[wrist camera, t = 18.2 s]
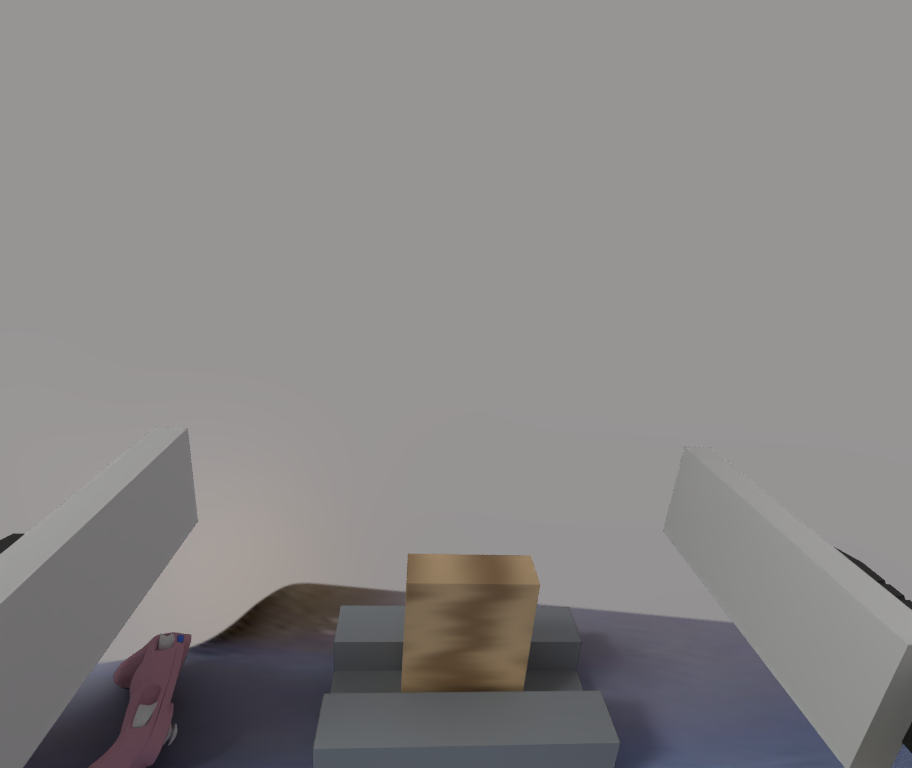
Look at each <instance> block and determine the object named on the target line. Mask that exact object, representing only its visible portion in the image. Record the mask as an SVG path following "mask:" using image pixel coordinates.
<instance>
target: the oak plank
mask: <svg viewBox="0 0 912 768" xmlns="http://www.w3.org/2000/svg"><path fill="white" fill-rule="evenodd" d="M407 565H408V566H407V583H406V602H405V621H404V640H403V659H402V679H401V693H423V692H519V691H523V688H524V682H525V676H526V670H527V663H528V657H529V651H530V644H531V638H532V632H533V626H534V619H535V613H536V607H537V601H538V594H539V588H540V583H539V580H538V577H537V574H536V571H535V568H534V564H533V562H532V558H531V556H520V555H518V556H517V555H516V556H515V555H454V554H453V555H452V554H408V564H407Z"/></svg>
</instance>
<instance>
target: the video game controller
mask: <svg viewBox="0 0 912 768" xmlns="http://www.w3.org/2000/svg"><path fill="white" fill-rule="evenodd" d="M190 642H191V635H190V634H181V633H175V632H174V633H166V634H160V635H157V636H155V637H154V638H153V639H152V640H151V641H150V642H149V643H148V644H147V645H145V646H144V647H143V648H142V649H141V650H139V651H138V652H136V653H135V654H133V655H132V656H130V657H129V658H128V659H126V660H125V661H124V662H123V663H121V664H120V666H119V667H118V669H117V670H116V672H115V673H114V682H115V684H117V685H118V686H120V687H122V688H123V687H124V688H130V702H129V705H128V708H127V711H126V714H125V717H124V720H123V724H122V728H121V732H120V735H119V737H118V739H117V740H116V742H115V743H114V744H113V745H112V746H111V748H110V749H109V750H108V751H107V752H106V753H105V754H104V755H102V756H101V757H100V758H99V759H98V760H97V761H96V762H94V763H93V764H92V765H91V766H89V767H88V768H146V767H147V766H151V765H153V764H154V762H155V761H156V759H157V757H158V755H159V753H160V751H161V748H162V746H163V745H164V744H165V743H166V741H167V740H168V742H167V746H169V745H170V744H171V743H172V742H173V740H174V739H175V737H176V734H177V724H174V726H173V728H171V719H172V716H173V710H174V704H173V703H170V702H171V699H172V695H173V692H174V689H175V685H176V682H177V678H178V675H179V673H180V671H181V668H182V666H183V664H184V662H185V659H186V656H187V652H188V649H189V646H190Z"/></svg>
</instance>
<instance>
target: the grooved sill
mask: <svg viewBox="0 0 912 768" xmlns="http://www.w3.org/2000/svg"><path fill="white" fill-rule="evenodd" d="M404 621H405V606H341V608H340V613H339V618H338V624H337V629H336V634H335V639H334V674H333V680H332V685H331V690H330V693H327V694H324V695H323V700H322V705H321V710H320V716H319V721H318V726H317V731H316V736H315V741H314V746H313V768H614V765H615V761H616V758H617V754H618V750H619V746H620V741H619V738H618V735H617V733H616V730H615V728H614V725H613V722H612V720H611V717H610V714H609V712H608V709H607V707H606V704H605V701H604V699H603V696H602V693H601V691H584V690H583V688H582V685H581V682H580V679H579V676H578V673H577V670H576V668H577V663H578V658H579V653H580V648H581V644H582V641H581V638H580V636H579V633H578V630H577V628H576V625H575V622H574V620H573V617H572V615H571V612H570V609H569V607H536V613H535V619H534V626H533V632H532V638H531V644H530V651H529V657H528V663H527V670H526V676H525V682H524V688H523V691H519V692H423V693H401V679H402V659H403V640H404Z"/></svg>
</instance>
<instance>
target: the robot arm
mask: <svg viewBox="0 0 912 768" xmlns="http://www.w3.org/2000/svg"><path fill="white" fill-rule="evenodd" d="M197 522H198V518H197V509H196V500H195V490H194V482H193V472H192V463H191V454H190V445H189V437H188V428H175V427H155V428H154V429H152V430H151V431H150V432H149V433H147V434H146V435H145V436H144V437H143V438H141V439H140V440H139V441H138V442H137V443H135V444H134V445H133V446H132V447H130V448H129V449H128V450H127V451H126V452H124V453H123V454H122V455H121V456H119V458H117V459H116V460H115V461H113V462H112V463H111V464H110V465H108V466H107V467H106V468H105V469H104V470H102V471H101V472H100V473H99V474H98V475H96V476H95V477H94V478H93V479H91V480H90V481H89V482H88V483H87V484H85V485H84V486H83V487H82V488H81V489H79V490H78V491H77V492H76V493H74V494H73V495H72V496H71V497H69V498H68V499H67V500H66V501H65V502H63V503H62V504H61V505H60V506H59V507H57V508H56V509H55V510H54V511H52V512H51V513H50V514H49V515H48V516H46V517H45V518H44V519H43V520H42V521H40V522H39V523H38V524H37V525H35V526H34V527H33V528H32V529H30V530H29V531H28V532H27V533H26V534H12V535H10V536H8V537H6V538H4V539H2V540H0V768H23V767H24V766H25V764H26V763H27V761H28V760H29V759H30V757H31V756H32V754H33V753H34V752H35V750H36V749H37V747H38V746H39V745H40V743H41V742H42V740H43V739H44V738H45V736H46V735H47V733H48V732H49V730H50V729H51V728H52V726H53V725H54V723H55V722H56V721H57V719H58V718H59V716H60V715H61V714H62V712H63V711H64V709H65V708H66V707H67V705H68V704H69V702H70V701H71V699H72V698H73V697H74V695H75V694H76V692H77V691H78V690H79V688H80V687H81V685H82V684H83V683H84V681H85V680H86V678H87V677H88V676H89V674H90V673H91V671H92V670H93V669H94V667H95V666H96V664H97V663H98V661H99V660H100V658H101V657H102V656H103V654H104V653H105V652H106V650H107V649H108V647H109V646H110V644H111V643H112V642H113V640H114V639H115V638H116V636H117V635H118V633H119V632H120V630H121V629H122V628H123V626H124V625H125V623H126V622H127V620H128V619H129V618H130V616H131V615H132V614H133V612H134V610H135V609H136V608H137V607H138V605H139V604H140V602H141V601H142V600H143V598H144V596H145V595H146V594H147V592H148V591H149V590H150V588H151V587H152V585H153V584H154V582H155V581H156V580H157V578H158V577H159V576H160V574H161V573H162V571H163V570H164V569H165V567H166V566H167V564H168V563H169V561H170V560H171V558H172V557H173V556H174V554H175V553H176V552H177V550H178V549H179V547H180V546H181V545H182V543H183V542H184V540H185V539H186V538H187V536H188V535H189V533H190V532H191V531H192V529H193V527H194V526H195V525H196V523H197ZM663 531H664V533H665V534H666V535H667V537H668V538H669V539H670V541H671V542H672V543H673V545H674V546H675V547H676V548H677V550H678V551H679V552H680V554H681V555H682V556H683V557H684V559H685V560H686V561H687V563H688V564H689V565H690V567H691V568H692V569H693V571H694V572H695V573H696V574H697V576H698V577H699V578H700V580H701V581H702V582H703V584H704V585H705V586H706V587H707V589H708V590H709V592H710V593H711V594H712V595H713V597H714V598H715V599H716V600H717V602H718V603H719V605H720V606H721V607H722V608H723V610H724V611H725V612H726V614H727V615H728V616H729V618H730V619H731V620H732V622H733V623H734V624H735V625H736V627H737V628H738V629H739V631H740V632H741V633H742V635H743V636H744V637H745V638H746V640H747V641H748V642H749V644H750V645H751V646H752V648H753V649H754V650H755V652H756V653H757V654H758V655H759V657H760V658H761V659H762V661H763V662H764V663H765V665H766V666H767V667H768V669H769V670H770V671H771V672H772V674H773V675H774V676H775V678H776V679H777V680H778V682H779V683H780V684H781V685H782V687H783V688H784V689H785V691H786V692H787V693H788V695H789V696H790V697H791V699H792V700H793V701H794V702H795V704H796V705H797V706H798V708H799V709H800V710H801V712H802V713H803V714H804V715H805V717H806V718H807V719H808V721H809V722H810V723H811V725H812V726H813V727H814V729H815V730H816V731H817V732H818V734H819V735H820V736H821V738H822V739H823V740H824V742H825V743H826V744H827V745H828V747H829V748H830V749H831V751H832V752H833V753H834V755H835V756H836V757H837V759H838V760H839V761H840V762H841V764H842V765H843V766H844V768H891V766H892V764H893V762H894V760H895V758H896V756H897V755H898V753H899V751H900V749H901V747H902V745H903V744H904V745H905V746H906V747H907V748H908V749H909V750H910V752H911V753H912V602H911V601H910V600H905V598H904V595H903V594H901V593H900V592H899V591H897V590H896V589H895V588H894V587H892V586H891V585H889V584H886V583H885V580H884V579H882V578H881V577H880V576H879V575H877V574H876V573H875V572H873V571H872V570H871V569H870V568H868V567H867V566H866V565H865V564H863V563H862V562H860V561H859V560H857V559H855V558H853V557H851V556H849V555H848V554H846V553H844V552H842V551H841V550H839V549H837V548H835V547H833V546H832V545H830V544H829V543H828V542H827V541H826V540H824V539H823V538H822V537H821V536H819V535H818V534H817V533H816V532H814V531H813V530H812V529H811V528H809V527H808V526H807V525H805V523H803V522H802V521H801V520H799V519H798V518H797V517H796V516H795V515H793V514H792V513H791V512H789V511H788V510H787V509H786V508H785V507H783V506H782V505H781V504H780V503H779V502H777V501H776V500H775V499H773V498H772V497H771V496H770V495H769V494H767V493H766V492H765V491H764V490H762V489H761V488H760V487H759V486H757V485H756V484H755V483H754V482H752V481H751V480H750V479H749V478H748V477H746V476H745V475H744V474H742V473H741V472H740V471H739V470H738V469H736V468H735V467H734V466H733V465H731V464H730V463H729V462H728V461H726V460H725V459H724V458H723V457H722V456H720V455H719V454H718V453H717V452H715V451H714V450H713V449H712V448H710V447H684V449H683V453H682V458H681V461H680V465H679V470H678V474H677V478H676V482H675V486H674V490H673V494H672V498H671V502H670V506H669V510H668V514H667V518H666V522H665V526H664V530H663Z"/></svg>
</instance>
